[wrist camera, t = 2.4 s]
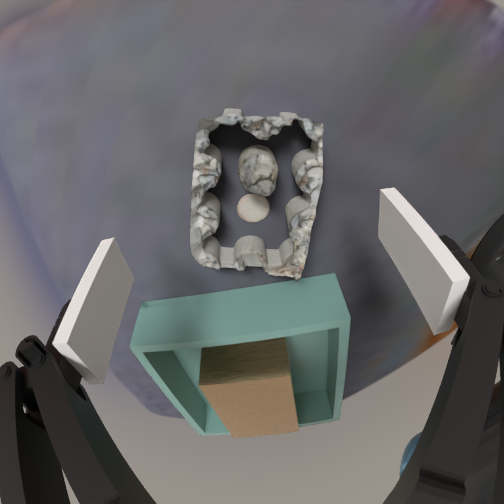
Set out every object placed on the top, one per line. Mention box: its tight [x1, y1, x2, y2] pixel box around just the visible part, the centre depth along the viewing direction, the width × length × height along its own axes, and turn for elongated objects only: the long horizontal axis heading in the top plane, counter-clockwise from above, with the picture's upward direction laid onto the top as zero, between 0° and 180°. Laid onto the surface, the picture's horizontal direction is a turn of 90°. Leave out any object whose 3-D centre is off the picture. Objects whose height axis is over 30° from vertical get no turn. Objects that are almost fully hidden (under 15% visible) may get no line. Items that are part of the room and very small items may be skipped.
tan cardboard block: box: [199, 337, 299, 438], centre depth 28 cm, size 7×12×6 cm, turn 10°
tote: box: [129, 273, 351, 436], centre depth 29 cm, size 17×19×5 cm
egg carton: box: [190, 108, 323, 281], centre depth 19 cm, size 11×8×4 cm
